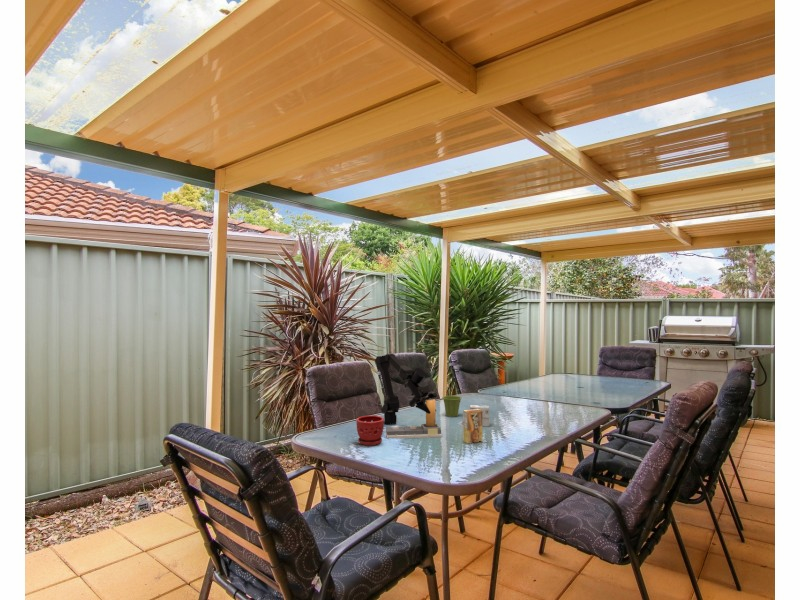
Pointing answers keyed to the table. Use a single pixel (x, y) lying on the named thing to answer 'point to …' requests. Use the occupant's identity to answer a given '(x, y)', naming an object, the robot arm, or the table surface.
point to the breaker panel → (413, 431)
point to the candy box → (472, 425)
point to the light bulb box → (483, 413)
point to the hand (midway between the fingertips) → (432, 412)
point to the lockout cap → (431, 412)
